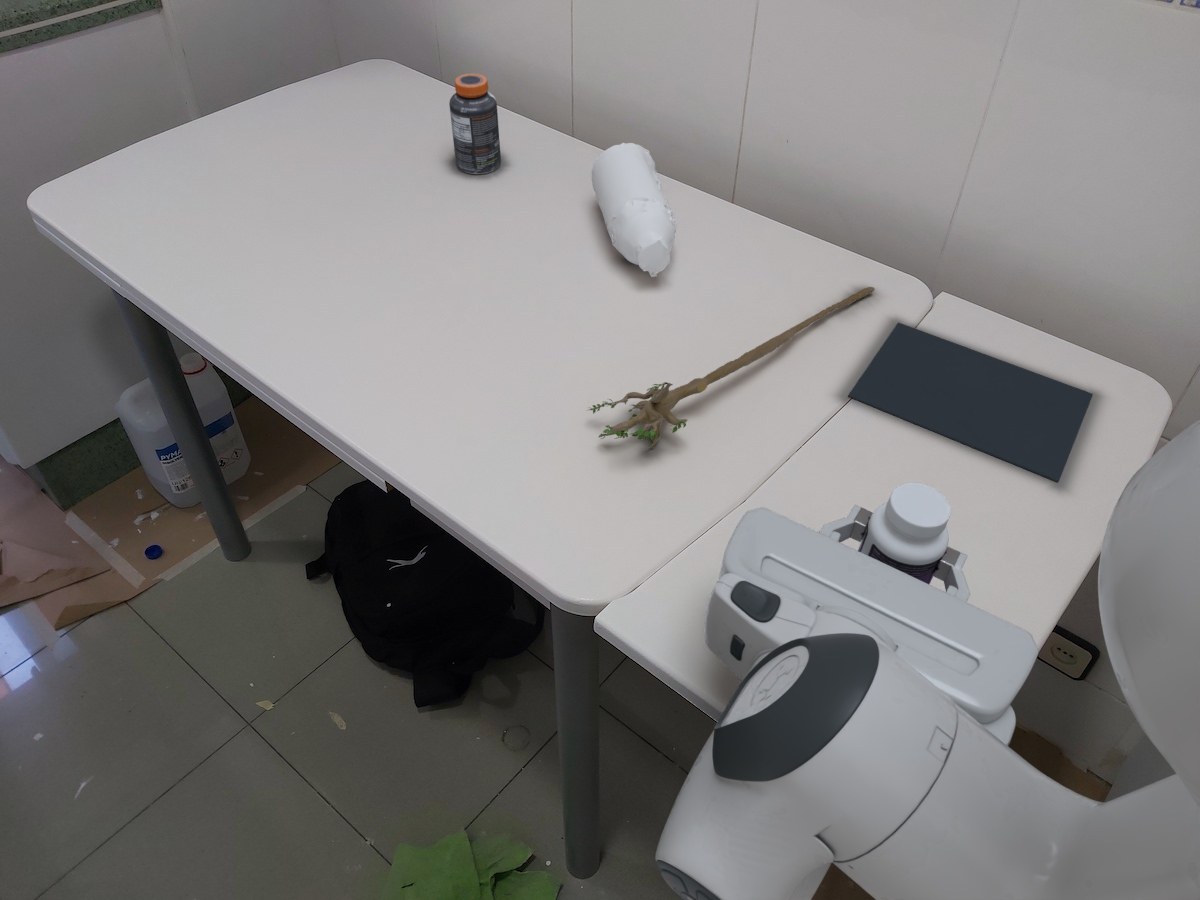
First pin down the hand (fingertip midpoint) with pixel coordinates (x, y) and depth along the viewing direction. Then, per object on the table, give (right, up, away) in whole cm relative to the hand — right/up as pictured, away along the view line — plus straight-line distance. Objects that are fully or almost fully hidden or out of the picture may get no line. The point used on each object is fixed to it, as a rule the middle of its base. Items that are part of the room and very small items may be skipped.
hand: (907, 534), depth 62 cm
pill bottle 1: (-38, +44, +54) cm, 79 cm away
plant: (-6, +14, +26) cm, 30 cm away
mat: (+15, +11, +24) cm, 30 cm away
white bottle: (-17, +31, +42) cm, 55 cm away
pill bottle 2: (-1, -5, +4) cm, 6 cm away
